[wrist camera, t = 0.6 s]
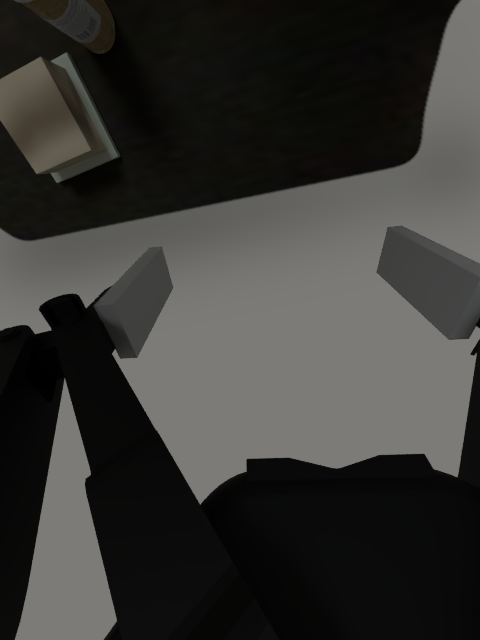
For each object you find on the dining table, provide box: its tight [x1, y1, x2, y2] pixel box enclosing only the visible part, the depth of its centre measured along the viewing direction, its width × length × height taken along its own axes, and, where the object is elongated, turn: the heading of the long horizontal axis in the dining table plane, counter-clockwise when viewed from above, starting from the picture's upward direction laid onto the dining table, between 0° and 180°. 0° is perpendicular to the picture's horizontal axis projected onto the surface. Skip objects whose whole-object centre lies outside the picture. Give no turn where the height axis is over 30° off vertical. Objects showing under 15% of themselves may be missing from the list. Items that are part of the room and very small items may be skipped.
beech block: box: [0, 57, 107, 174], centre depth 29 cm, size 8×8×4 cm
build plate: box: [50, 53, 121, 183], centre depth 31 cm, size 10×10×1 cm
